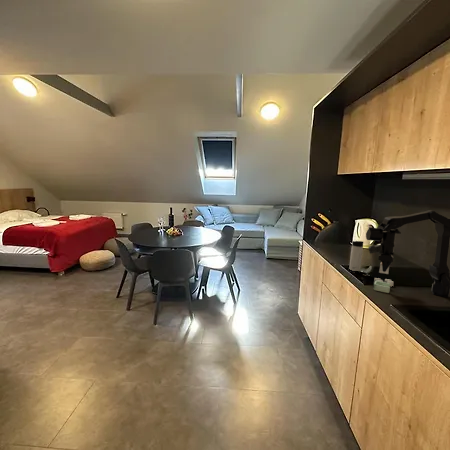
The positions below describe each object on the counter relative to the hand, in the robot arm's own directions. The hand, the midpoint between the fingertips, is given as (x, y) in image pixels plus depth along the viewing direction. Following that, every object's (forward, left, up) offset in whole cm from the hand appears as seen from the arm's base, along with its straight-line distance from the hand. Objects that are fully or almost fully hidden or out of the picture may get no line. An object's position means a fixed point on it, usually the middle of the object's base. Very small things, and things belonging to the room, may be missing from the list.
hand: (384, 270), depth 141 cm
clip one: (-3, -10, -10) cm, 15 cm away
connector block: (0, 0, -1) cm, 1 cm away
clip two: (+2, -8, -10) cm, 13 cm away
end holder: (0, 0, -10) cm, 10 cm away
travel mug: (+16, -24, -11) cm, 31 cm away
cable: (0, -9, -10) cm, 14 cm away
